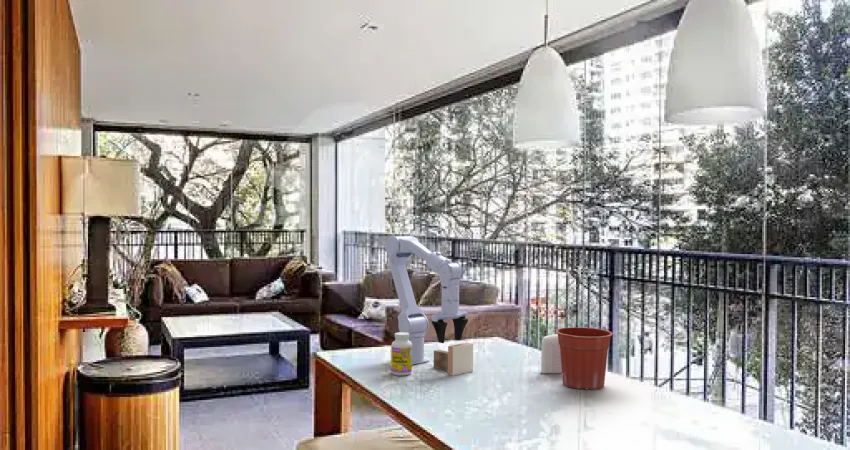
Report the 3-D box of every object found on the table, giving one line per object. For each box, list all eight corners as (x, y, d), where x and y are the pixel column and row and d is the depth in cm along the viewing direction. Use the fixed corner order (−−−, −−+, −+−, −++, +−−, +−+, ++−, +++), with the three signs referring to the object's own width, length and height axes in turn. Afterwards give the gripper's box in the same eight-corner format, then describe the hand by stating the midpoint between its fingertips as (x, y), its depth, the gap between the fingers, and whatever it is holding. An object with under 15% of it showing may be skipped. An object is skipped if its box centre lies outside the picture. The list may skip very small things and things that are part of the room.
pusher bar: (433, 367, 219) (433, 350, 219) (438, 366, 220) (439, 349, 220) (450, 371, 213) (450, 354, 213) (455, 370, 214) (455, 353, 214)
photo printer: (569, 370, 215) (569, 333, 215) (574, 373, 211) (574, 335, 211) (539, 371, 213) (539, 333, 213) (543, 374, 209) (543, 335, 209)
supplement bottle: (388, 375, 206) (388, 334, 206) (394, 370, 213) (394, 331, 213) (408, 376, 205) (409, 335, 205) (414, 372, 211) (414, 332, 211)
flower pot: (614, 393, 186) (614, 337, 186) (555, 390, 190) (555, 335, 190) (609, 380, 203) (610, 328, 202) (555, 377, 206) (556, 326, 206)
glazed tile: (447, 374, 209) (448, 346, 209) (467, 370, 215) (467, 342, 215) (453, 375, 207) (453, 347, 207) (472, 371, 213) (473, 343, 213)
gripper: (442, 303, 206) (441, 345, 207) (474, 299, 216) (473, 340, 216) (427, 300, 212) (426, 342, 212) (459, 297, 221) (458, 337, 221)
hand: (449, 341), depth 214 cm, fingers open, 7 cm apart
